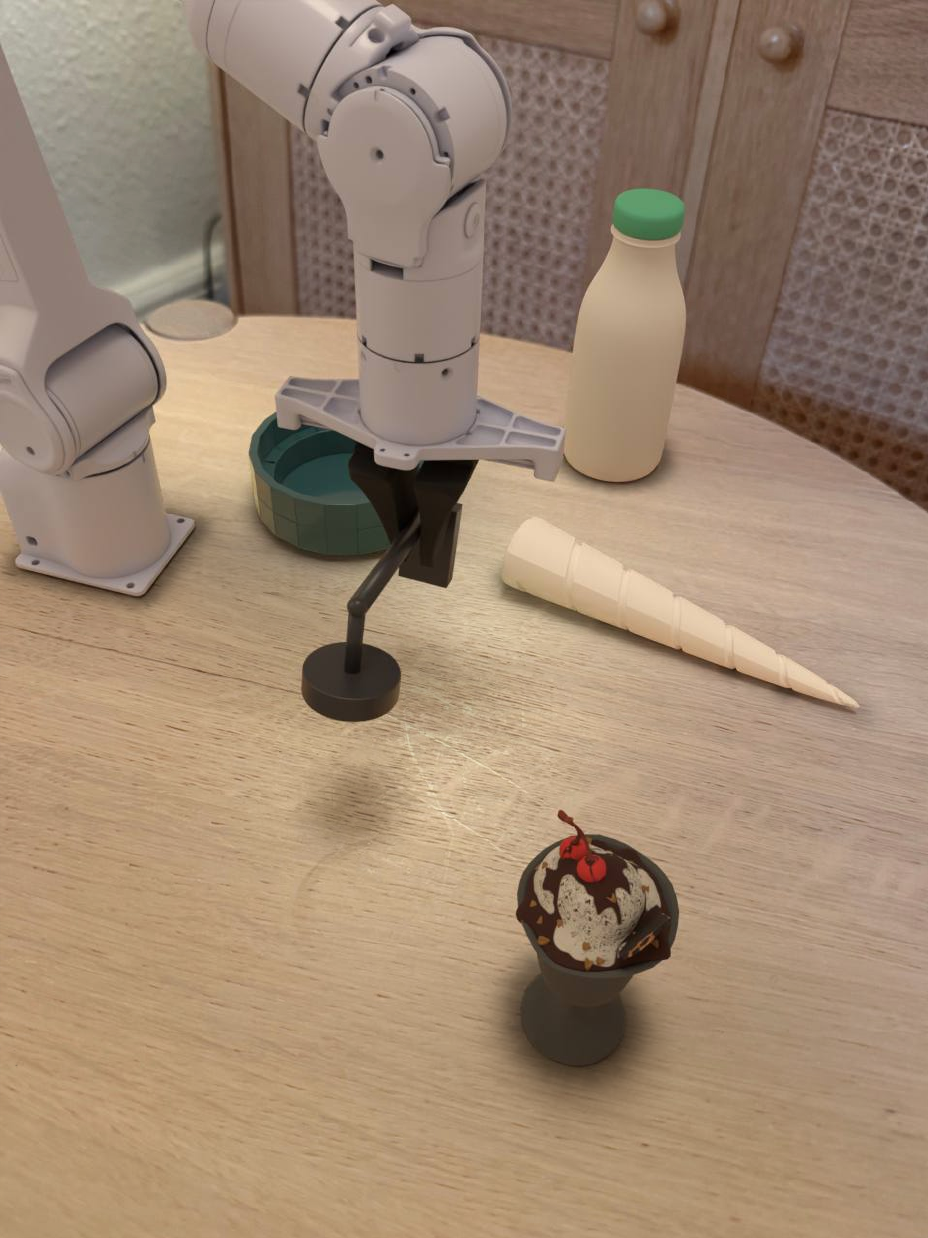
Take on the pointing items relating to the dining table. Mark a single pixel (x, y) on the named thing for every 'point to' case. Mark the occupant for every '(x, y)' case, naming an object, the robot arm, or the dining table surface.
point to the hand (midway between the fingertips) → (418, 552)
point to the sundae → (590, 940)
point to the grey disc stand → (353, 671)
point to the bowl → (312, 490)
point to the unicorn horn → (643, 607)
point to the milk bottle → (628, 344)
